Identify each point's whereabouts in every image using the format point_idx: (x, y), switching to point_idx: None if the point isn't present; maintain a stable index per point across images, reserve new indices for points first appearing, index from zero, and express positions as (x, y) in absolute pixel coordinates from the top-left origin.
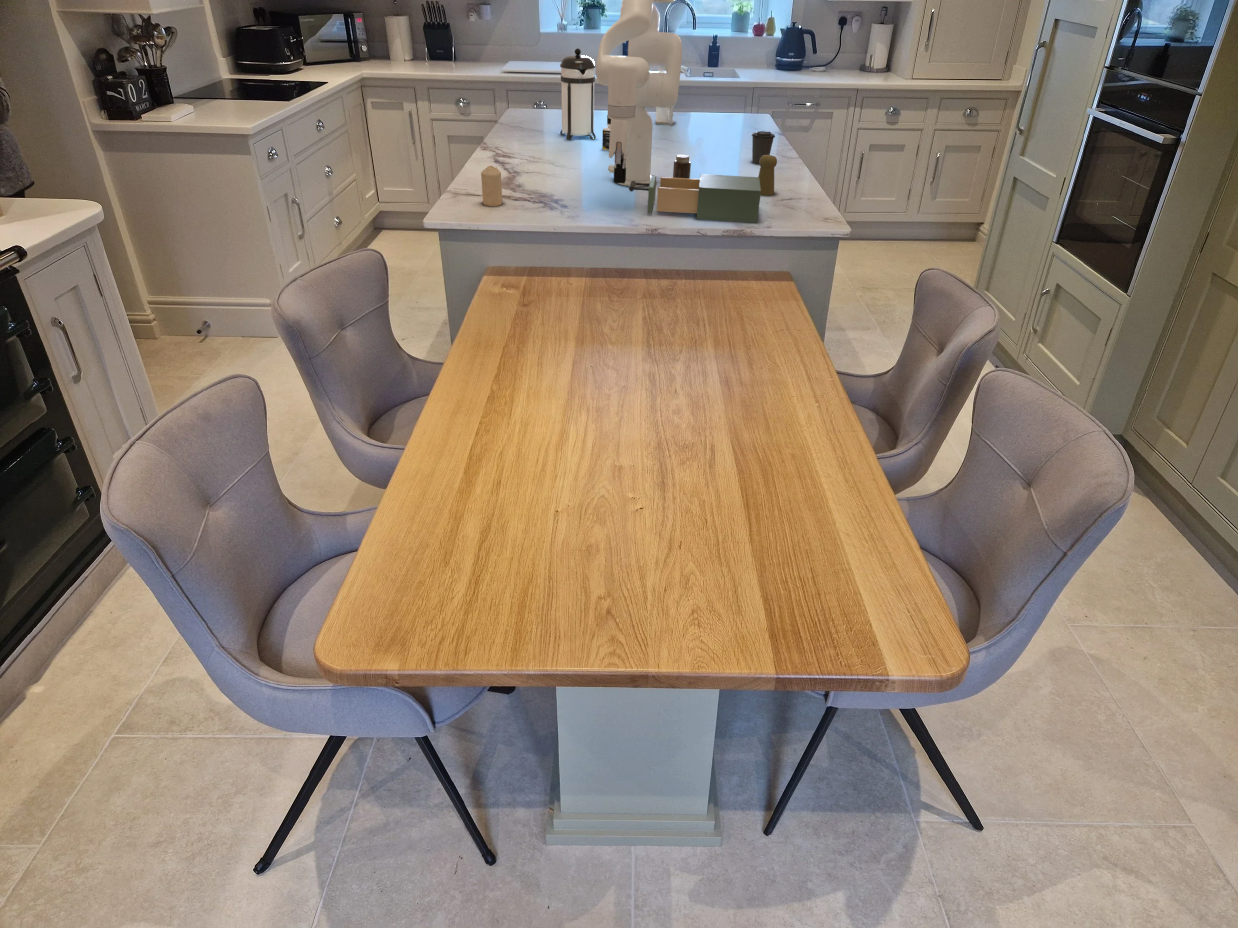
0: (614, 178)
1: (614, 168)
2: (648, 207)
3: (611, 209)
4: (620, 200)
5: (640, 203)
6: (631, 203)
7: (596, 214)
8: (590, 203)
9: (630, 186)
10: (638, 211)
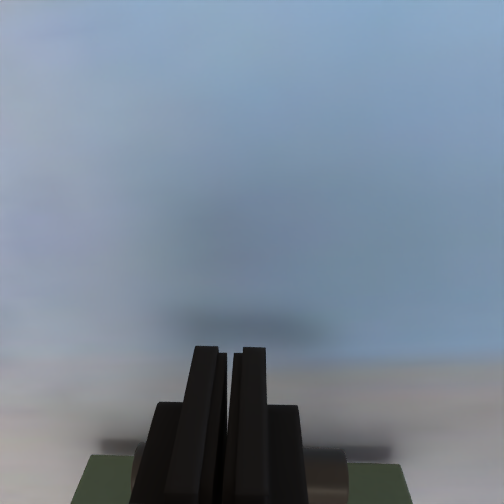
0: (189, 380)
1: (169, 491)
2: (79, 485)
3: (179, 220)
4: (438, 266)
5: (368, 393)
6: (362, 342)
7: (6, 116)
8: (324, 17)
9: (131, 483)
10: (178, 390)
